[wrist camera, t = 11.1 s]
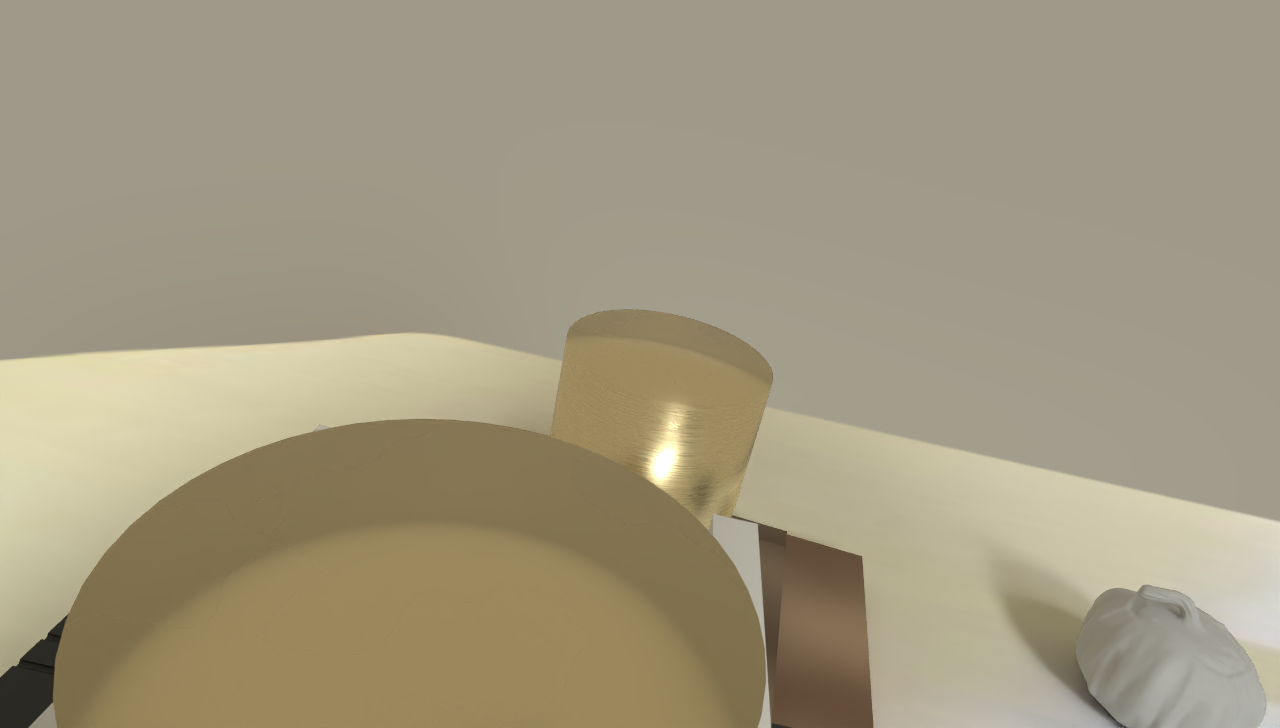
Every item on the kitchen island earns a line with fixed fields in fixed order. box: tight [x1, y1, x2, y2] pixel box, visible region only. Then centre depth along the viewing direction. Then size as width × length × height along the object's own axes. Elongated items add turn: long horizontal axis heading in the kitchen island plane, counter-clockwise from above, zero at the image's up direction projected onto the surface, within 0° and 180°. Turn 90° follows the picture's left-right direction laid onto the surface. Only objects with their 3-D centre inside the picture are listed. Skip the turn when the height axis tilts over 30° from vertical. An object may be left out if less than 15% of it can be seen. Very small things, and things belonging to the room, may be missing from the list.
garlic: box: [1076, 585, 1266, 728], centre depth 28 cm, size 6×5×5 cm
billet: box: [550, 310, 773, 530], centre depth 25 cm, size 6×6×10 cm
